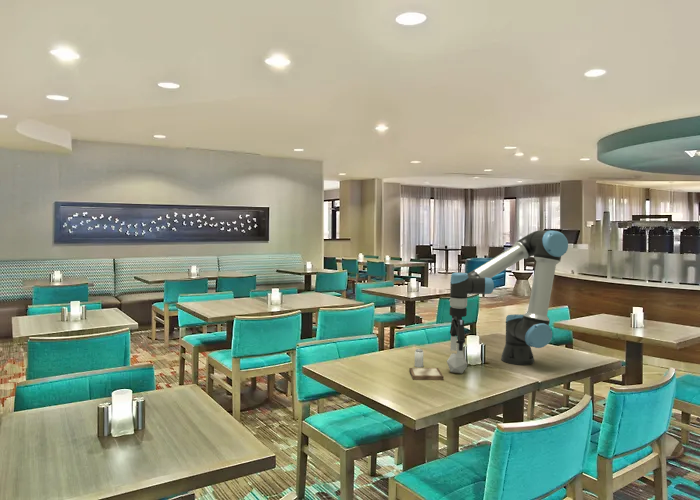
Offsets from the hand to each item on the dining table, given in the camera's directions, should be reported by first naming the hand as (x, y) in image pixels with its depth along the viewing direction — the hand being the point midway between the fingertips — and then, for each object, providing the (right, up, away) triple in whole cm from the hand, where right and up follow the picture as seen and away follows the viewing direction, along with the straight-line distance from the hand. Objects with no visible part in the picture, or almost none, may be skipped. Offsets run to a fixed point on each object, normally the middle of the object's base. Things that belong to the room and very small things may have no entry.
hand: (456, 354), depth 227 cm
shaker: (-16, -8, +9) cm, 20 cm away
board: (-15, -8, -6) cm, 18 cm away
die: (0, -8, 0) cm, 8 cm away
